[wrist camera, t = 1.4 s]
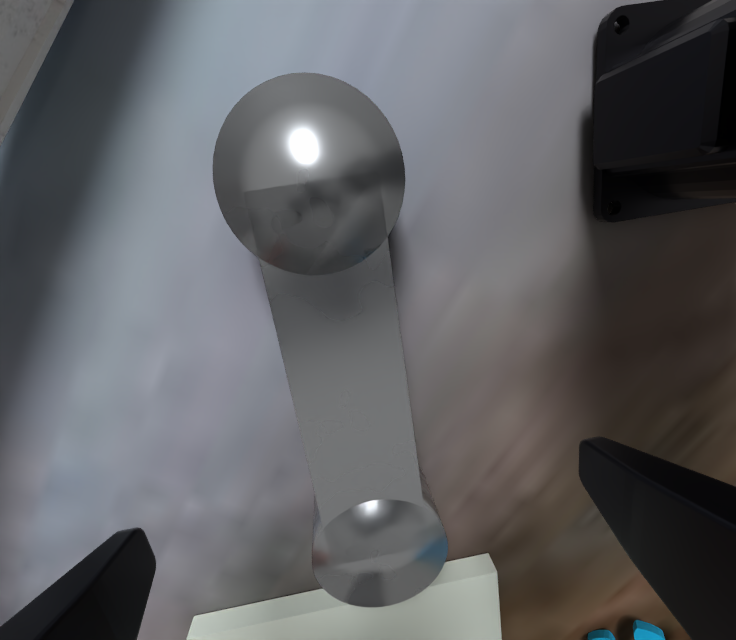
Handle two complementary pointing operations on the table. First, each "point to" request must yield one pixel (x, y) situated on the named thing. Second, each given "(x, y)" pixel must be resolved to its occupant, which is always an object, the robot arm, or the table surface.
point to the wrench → (24, 49)
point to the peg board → (371, 613)
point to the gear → (645, 634)
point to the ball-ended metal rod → (336, 321)
